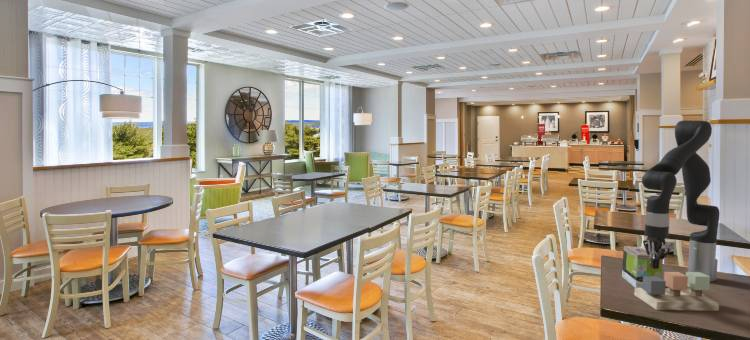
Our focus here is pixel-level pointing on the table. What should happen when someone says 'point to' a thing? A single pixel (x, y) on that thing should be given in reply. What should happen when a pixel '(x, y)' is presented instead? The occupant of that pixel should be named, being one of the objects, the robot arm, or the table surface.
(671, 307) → the key board
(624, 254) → the tea box
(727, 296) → the table surface
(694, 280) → the sage green cube
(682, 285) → the terracotta key
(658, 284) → the grey cube
